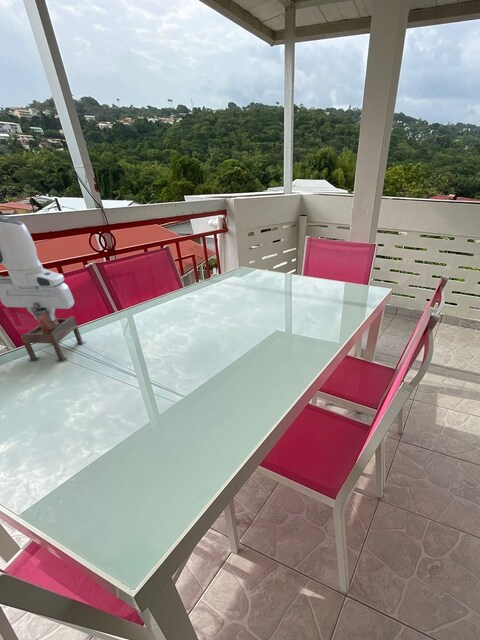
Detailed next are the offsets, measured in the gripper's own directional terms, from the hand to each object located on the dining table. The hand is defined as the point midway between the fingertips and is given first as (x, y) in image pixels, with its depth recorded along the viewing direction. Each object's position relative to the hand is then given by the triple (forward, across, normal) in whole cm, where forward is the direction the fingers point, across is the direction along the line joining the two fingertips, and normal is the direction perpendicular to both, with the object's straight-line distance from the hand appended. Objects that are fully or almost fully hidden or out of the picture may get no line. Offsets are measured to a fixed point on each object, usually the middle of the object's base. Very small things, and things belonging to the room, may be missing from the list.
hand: (45, 320), depth 108 cm
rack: (+11, 0, 0) cm, 11 cm away
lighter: (+4, +1, 0) cm, 4 cm away
